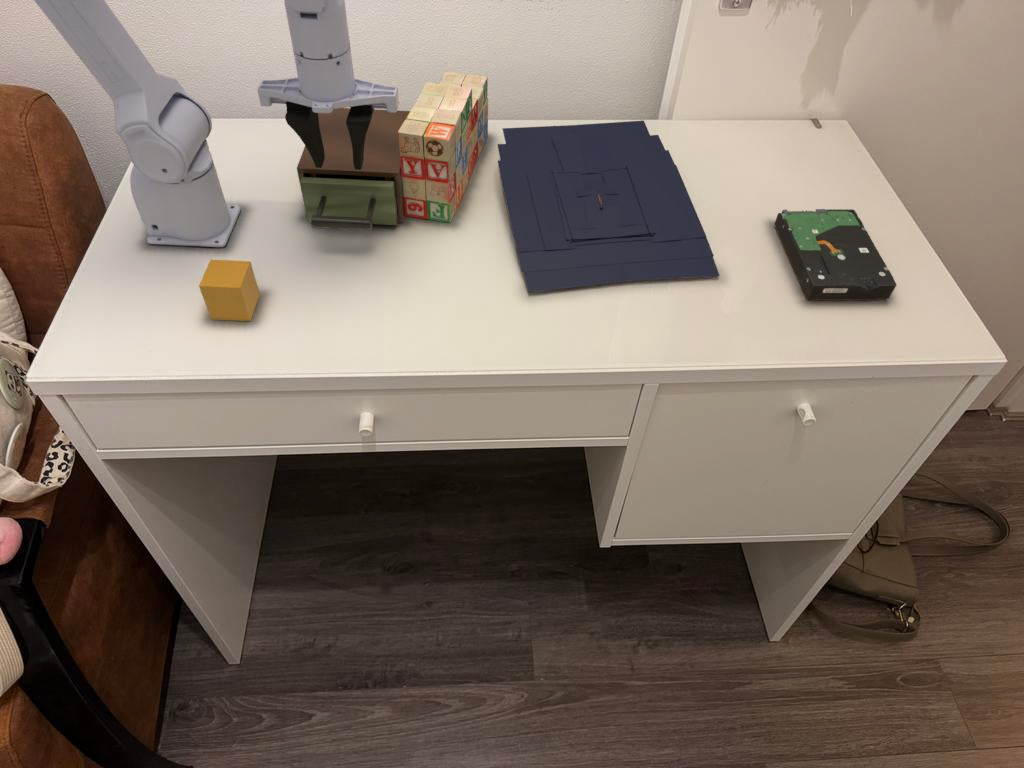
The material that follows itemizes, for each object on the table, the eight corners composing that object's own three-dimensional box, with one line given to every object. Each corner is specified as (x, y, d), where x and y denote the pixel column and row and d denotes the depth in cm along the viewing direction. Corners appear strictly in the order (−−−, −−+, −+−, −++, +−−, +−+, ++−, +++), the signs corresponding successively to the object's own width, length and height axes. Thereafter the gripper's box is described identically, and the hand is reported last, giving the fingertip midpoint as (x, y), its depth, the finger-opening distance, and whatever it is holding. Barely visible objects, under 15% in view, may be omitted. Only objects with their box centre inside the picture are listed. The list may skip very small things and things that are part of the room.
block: (211, 319, 84) (198, 285, 80) (222, 292, 86) (210, 259, 83) (250, 321, 84) (240, 287, 80) (260, 294, 86) (250, 261, 83)
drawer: (391, 252, 91) (387, 213, 87) (298, 247, 91) (290, 209, 87) (408, 165, 103) (406, 127, 99) (327, 161, 103) (321, 123, 99)
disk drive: (889, 302, 90) (846, 224, 100) (899, 284, 88) (855, 207, 97) (806, 303, 89) (771, 224, 99) (814, 286, 87) (777, 207, 97)
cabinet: (403, 222, 96) (399, 172, 91) (306, 218, 96) (296, 168, 90) (415, 159, 106) (412, 111, 100) (327, 155, 105) (319, 106, 100)
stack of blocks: (447, 130, 111) (444, 48, 101) (488, 137, 110) (489, 54, 101) (404, 216, 97) (396, 130, 88) (451, 224, 96) (448, 138, 87)
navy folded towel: (652, 135, 110) (657, 114, 107) (715, 290, 93) (724, 270, 90) (488, 145, 106) (489, 123, 103) (524, 307, 90) (526, 287, 87)
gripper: (239, 61, 73) (268, 180, 83) (387, 69, 73) (398, 187, 84) (257, 29, 78) (282, 146, 88) (396, 36, 78) (405, 152, 88)
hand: (339, 163), depth 86 cm, fingers open, 4 cm apart
